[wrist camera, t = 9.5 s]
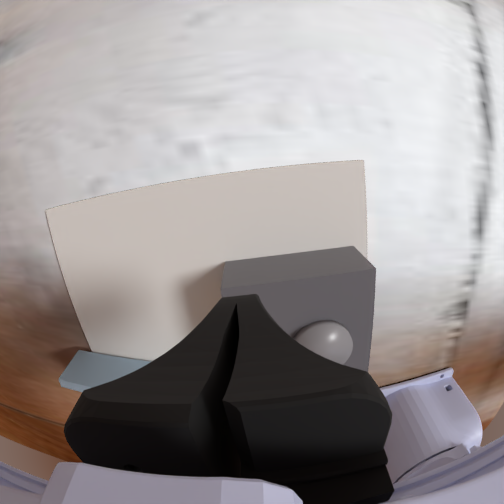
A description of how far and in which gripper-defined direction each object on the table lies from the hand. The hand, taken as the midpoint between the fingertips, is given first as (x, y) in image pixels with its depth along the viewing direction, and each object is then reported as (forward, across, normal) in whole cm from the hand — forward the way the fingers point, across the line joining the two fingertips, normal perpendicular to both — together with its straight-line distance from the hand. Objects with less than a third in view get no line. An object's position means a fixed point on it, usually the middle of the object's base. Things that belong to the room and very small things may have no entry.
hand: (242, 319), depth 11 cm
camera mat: (+9, +3, +4) cm, 11 cm away
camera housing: (+9, -3, +6) cm, 11 cm away
